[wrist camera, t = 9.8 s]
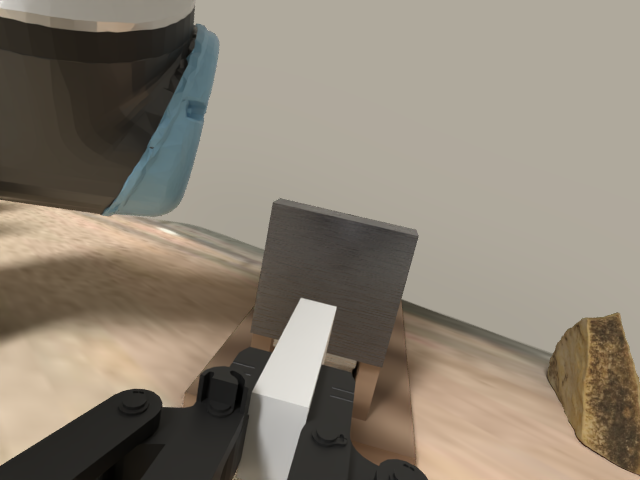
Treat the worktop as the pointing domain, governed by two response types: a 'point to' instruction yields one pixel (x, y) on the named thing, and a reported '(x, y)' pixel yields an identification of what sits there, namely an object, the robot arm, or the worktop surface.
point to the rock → (600, 388)
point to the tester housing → (369, 397)
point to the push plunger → (334, 278)
